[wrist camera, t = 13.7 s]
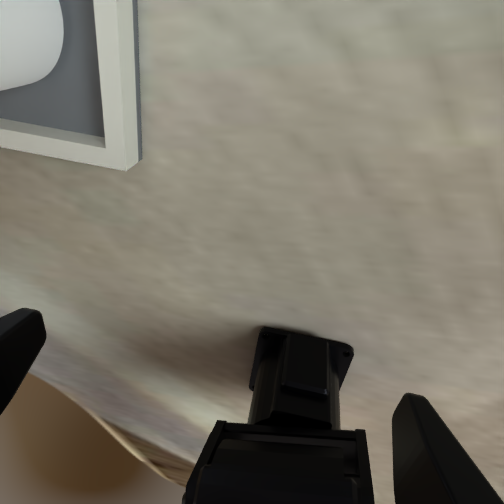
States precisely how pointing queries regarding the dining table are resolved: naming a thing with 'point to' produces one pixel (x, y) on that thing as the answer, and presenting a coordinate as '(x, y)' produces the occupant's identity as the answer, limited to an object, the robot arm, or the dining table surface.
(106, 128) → the square tray
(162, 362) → the dining table surface
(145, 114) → the dining table surface
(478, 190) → the dining table surface
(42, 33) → the can
